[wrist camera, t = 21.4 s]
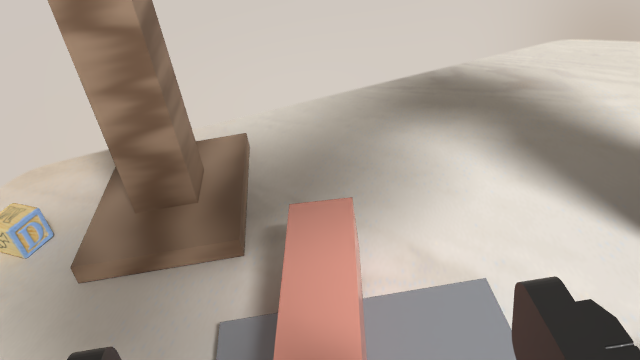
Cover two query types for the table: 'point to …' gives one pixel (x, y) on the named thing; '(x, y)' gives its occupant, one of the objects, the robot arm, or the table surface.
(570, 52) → the table surface
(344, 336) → the salmon pink bar
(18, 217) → the alphabet block
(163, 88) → the brown pedestal stand
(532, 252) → the table surface
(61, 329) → the table surface
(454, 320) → the rubber mat
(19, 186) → the table surface
